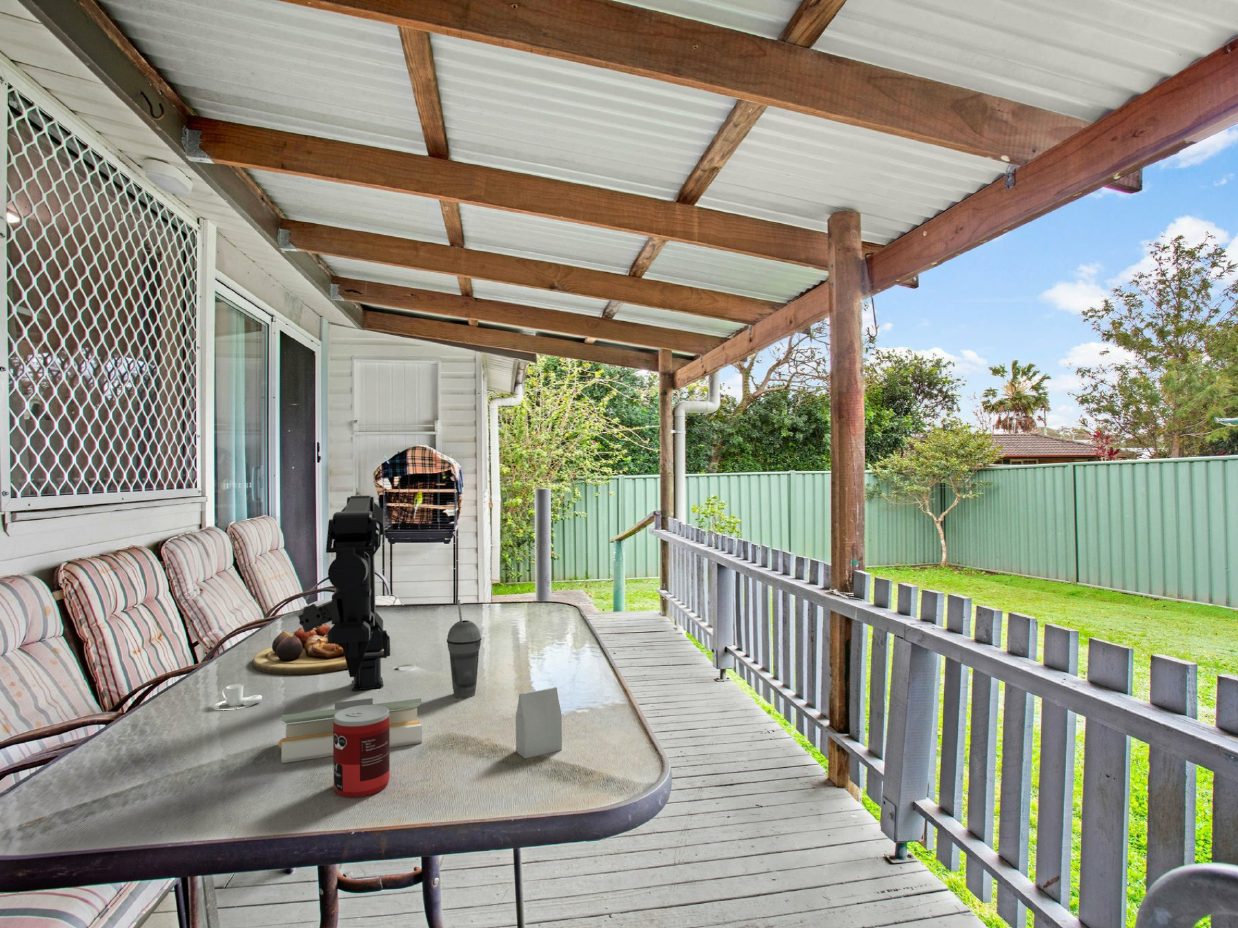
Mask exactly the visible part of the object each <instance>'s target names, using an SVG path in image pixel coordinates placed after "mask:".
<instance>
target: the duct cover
mask: <svg viewBox="0 0 1238 928" xmlns="http://www.w3.org/2000/svg"><path fill="white" fill-rule="evenodd" d="M421 704H422V698H420V697H419V698H413V699H406V700H405V699H404V700H397V701H389V702H380V703H374V702H373V697H371V698H370V697H369V698H363V699H353V700H344V701H338V702H334V708H331V709H324V710H315V711H307V712H299V713H290V714H282V715H281V721H282V722H284V723H285V724H286V725H287V724H292V723H300V722H308V721H316V720H324V719H331V718H334V715H335V714H336V713H337V712H339V711H341V710H343V709H346V708H350V707H354V706H360V705H379V706H384V707H386V708H388V709H389V711H394V710H402V709H410V708H418V707H419V706H420V705H421Z"/></svg>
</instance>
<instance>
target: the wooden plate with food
mask: <svg viewBox="0 0 1238 928" xmlns="http://www.w3.org/2000/svg"><path fill="white" fill-rule="evenodd" d="M330 629H331V626H330V625H329V624H327V623H325V624H323V625H320V626H318V627H315V628H313V630H311V631H309V632H306V633H305V632H304V630H303V627H301V628H300V627H299V628H298V629H297V630H295V631H293V633H291V632H287V631H286V630H283V631H282V632H280V633H278V635H277V636H276V637H275V638H274V639H273V641H272V643H271V646H270V647H267V648H266V649H263V650H262V651H260V652H258V653H256V655H254V657H253V660H252V665H253V667H254V668H255V669H256V670H258V671H260V672H262V673H266V674H268V673H269V674H273V675H284V676H286V675H289V676H292V675H293V676H294V675H296V676H297V675H311V674H312V675H313V674H314V675H315V674H323V673H325V674H326V673H330V672H331V673H332V672H338V671H343V670H348V668H347V663H346V659H345V655H344V652H343V649H342V647H340V646H339V645H338V644H328V631H329V630H330ZM382 651H384V649H383V650H382Z"/></svg>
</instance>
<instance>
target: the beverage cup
mask: <svg viewBox="0 0 1238 928" xmlns="http://www.w3.org/2000/svg"><path fill="white" fill-rule="evenodd" d="M461 607H462V606H461V600H460V599H457V609H458V616H459V621H456V622H455V623H454V624H453V625H451V627H449V631H448V634H447V638H446V643H447V649H448V654H449V662H450V664H449V665H450V673H451V684H452V690H453V691H452V692H453V697H454V698H457V699H465V698H472V697H474V696H475V695H476V692H477V691H476V690H477V689H476V688H477V682H478V670H479V669H478V667H479V656H480V653H479V652H480V649H481V645H482V643H481V641H482V640H483V639H482V635H481V632H480V629H479V627H478V626H477V624H475V623H474V622H473V621H470V620H467V619H466V620H465V619H464V620H463V616H462V609H461Z"/></svg>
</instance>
